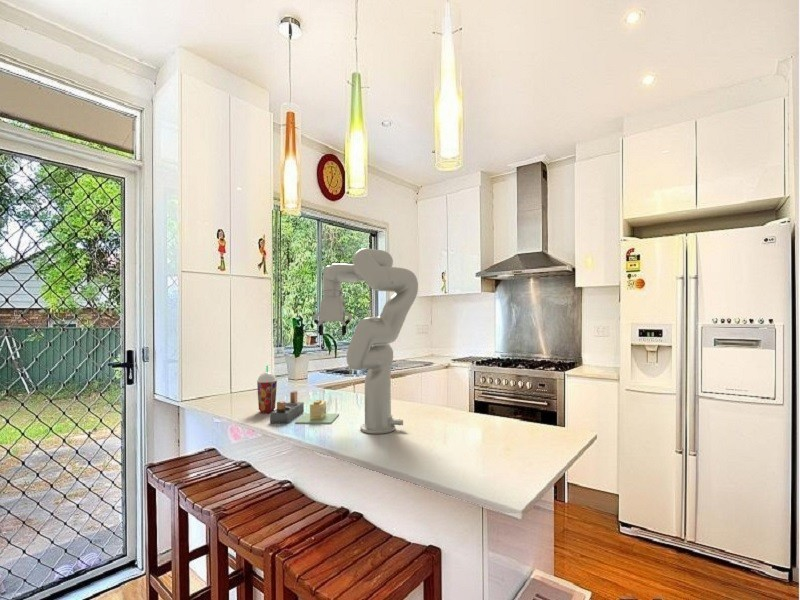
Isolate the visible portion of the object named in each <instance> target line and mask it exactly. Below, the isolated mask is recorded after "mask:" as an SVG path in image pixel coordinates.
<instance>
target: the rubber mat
mask: <svg viewBox="0 0 800 600" xmlns="http://www.w3.org/2000/svg"><path fill="white" fill-rule="evenodd" d="M339 416H340V413H326V416H325V417H324V418H323V419H322V420H310V413H305V414H304V415H303V416H301V417H300V418H299V419H297V420H296V421H295V424H297V425H302V424H303V425H304V424H305V425H312V424H314V425H332V424H333V423H334V422H335V420H336V419H337V418H338V417H339Z"/></svg>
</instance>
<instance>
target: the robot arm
mask: <svg viewBox="0 0 800 600" xmlns="http://www.w3.org/2000/svg"><path fill="white" fill-rule="evenodd" d="M352 259H353V260H352V261H353V263H352V264H351V263H350V264H349V263H337V262H336V263H335V262H334V263H332V264H330V265H326V266H325V267H323V271H322V272H323V274H322V275H323V277H322V279H323V282H322V283H323V285H322V287H323V288H322V290H323V291H322V292H323V293H322V294H323V296H322V297H323V298H321V301H320V309H319V311H318V312H316V313H314V314H313V315H311V318H312V320H313V322H314V323H315V324H316V325H317V326H318V329H317V331H318V334H319V336H324V326H323V324H324V323H325V322H340V323H341V324H342V325H341V335H342V336H345V335H346V334H347V326H348V325H349V324H350V323H351V321H352V318H353V314H351V313H349V312H346V311H345V309H346V308H345V302H344V298H343V296H345V292H344V291H342V283H351V284H352V283H361V282H365V284H367V286H369V288H371V289H372V290H373V291H376V292H391V293H394V294H393V295H392V296H390V297H389V298H388V299H387V301H386V302H385V303H384V305H383V308H382V311H381V313H380V315H378V316H368V317H363V318H362V319H360V320H359V322H358V323H357V325H356V327H355V329H354V331H353V335H352V337H351V339H350V343H349V345H348V347H347V351H346V363H347V366H348V367H349V368H350V369H352V370H354V371H365V370H368V371H367V372H366V374H365V378H364V423H363V424H362V425H360V431H361V432H363V433H365V434H373V435H374V434H375V435H379V434H380V435H382V434H389V433H392V432H393V431H395V430H396V426H403V425H404V419H401V418H394V417H393V414H392V409H391V408H392V406H391V405H392V399H391V398H392V395H391V392H392V391H391V387H392V384H391V383H392V382H391V380H392V365H393V361H394V350H393V347H392V346H391V345H390V344H392V343H394V342H395V341H396V340H397V339H398V337H399V334H400V333H401V330H402V327H403V325H404V323H405V321H406V317H407V316H408V313H409V311H410V310H411V307H412V306H413V304H414V302H415V301H416V299H417V296H418V291H419V282H418V278H417V276H416V274H415V273H414V272H413V271H412V270H410V269H407V268H403V267H396V266H395V267H394V266H393V265H394V259H393V257H392V255H391V254H390V253H389V252H388V251H386V250H384V249H383V250H382V249H373V248H368V247H364V248H361V249H359V250H356V252H355V254H354V255H353V258H352ZM317 317H319V320H318V318H317ZM346 317H347V319H346ZM345 319H346V320H345Z"/></svg>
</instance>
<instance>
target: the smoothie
mask: <svg viewBox="0 0 800 600" xmlns="http://www.w3.org/2000/svg"><path fill="white" fill-rule="evenodd" d="M265 367H266V368H265V370H266V371H264V372H263V373H261V374H260V375H259V377H258V378H257V380H256V381H257V383H256V384H257V385H256V387H257V404H258V411H259V413H260V414H270V413H271V412H273V411H274V410H276V403H277V402H276V400H277V385H278V379H277V378H276V375H275V374H274V373H272V372H271V371H269V365H266V366H265Z"/></svg>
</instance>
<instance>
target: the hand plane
mask: <svg viewBox="0 0 800 600" xmlns="http://www.w3.org/2000/svg"><path fill="white" fill-rule="evenodd" d="M289 396H290V399H289V400H290V402H288V401H287V402H286V401H277V402H276V408H275V409H274V411H273V412H271V413H269V424H280V425H281V424H283V425H284V424H289V423H290V422H292V421H293V420H294V419H296V418H297V417H298V416H300V415H301V414H303V413H304V412H305V411H304V407H305V406H304V405H305V403H304V402H302V401H298V390H292V391H291V392H290V395H289Z"/></svg>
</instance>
